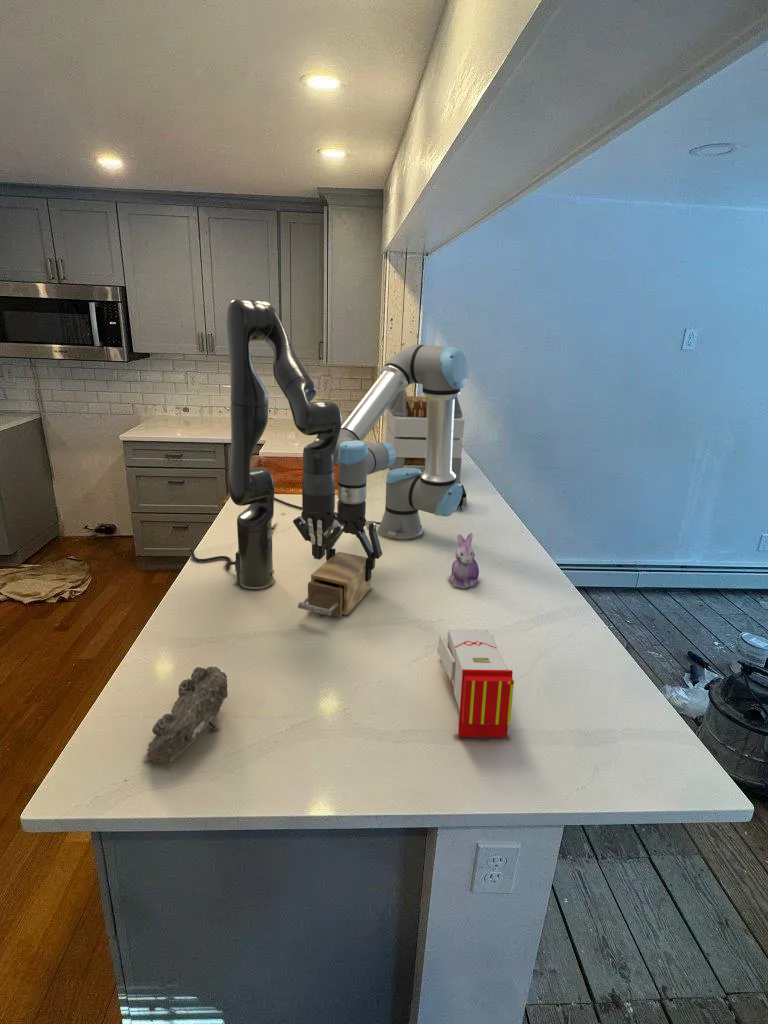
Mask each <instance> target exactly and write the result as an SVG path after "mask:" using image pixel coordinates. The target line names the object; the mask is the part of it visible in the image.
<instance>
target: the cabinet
mask: <svg viewBox="0 0 768 1024" xmlns="http://www.w3.org/2000/svg"><path fill="white" fill-rule="evenodd" d="M367 558H368V556H363V555H357V554H354V553H353V554H352V553H348V552H342V551H336V552H335V555H334V556H332V557H331V558H330V559H329V560H328V561H325V562H324V563H323V564H322V565H320V566H319V567H318V568H317V569H316V570H314V572H313V573H311V574H310V581H311V582H315V583H316V580H322V581H326V582H331V583H335V584H340V585H344V607H343V608H342V615H343V616H348V615H349V614H350V613H351V611H352V610H353V609H354V608H356V606H357V605H358V604H359V603H360V601H362V600H363V598H365V596H366V595H367V594H368V593H369V592H370V590H371V589H372V578H371V579H370V580H369V581H368V582H367V581H365V573H366V559H367ZM342 615H341V616H342Z"/></svg>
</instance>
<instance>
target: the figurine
mask: <svg viewBox="0 0 768 1024" xmlns="http://www.w3.org/2000/svg"><path fill="white" fill-rule="evenodd" d="M473 538H474V537H473V533H472V532H470V533H468V534H467V537H466V538H465V539H464V537H463V536H462V534H461V533H458V534H457V549H456V551H455V558H456V560H454V561H453V562H452V565H451V574H450V582H451V583H452V585H453V586H454V587H455V588H460V589H467V588H471V587H474V586H475V585H476V584H477V583H478V579H479V577H480V569H479V564H478V562H477V560H476V558H475V557H476V553H475V551H474V548H473V546H472V542H473Z"/></svg>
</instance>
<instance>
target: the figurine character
mask: <svg viewBox="0 0 768 1024" xmlns="http://www.w3.org/2000/svg"><path fill="white" fill-rule="evenodd" d="M460 485H461V486H462V497H461V501H460V503H459V505H458V507H457V509H460V511H463V507H464V508H465V507H467V503H468V498H467V492H466V489H465V487H464V484H460Z"/></svg>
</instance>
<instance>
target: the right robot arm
mask: <svg viewBox="0 0 768 1024" xmlns="http://www.w3.org/2000/svg"><path fill="white" fill-rule="evenodd" d="M379 375H380V376H379V377H378V379H377V380H376V381H375V382H374V384H373V385H372V386H371V387H370V388H369V389H368V391H367V392H366V394H365V395H364V396H363V397H362V399H361V400H360V401H359V403H358V404H357V405H356V406H355V408H354V409H353V410H352V411H351V412H350V414H349V415H348V416H347V418H346V419H345V420H344V422H342V426H341V431H340V434H339V438H338V442H337V445H336V449H335V452H334V464H335V463H336V464H337V476H338V477H337V503H336V504H337V509H336V511H337V512H335V511H334V513H335V515H336V520H337V521H338V522H339V523H340V524H344V526H345V527H344V529H343V530H342V531H341V532H340V533H339V534H338V535H337V536H336V537H335V539H334V540H333V541H332V542H330V543H329V544H328V545H326V544H325V562H327V561H328V560H329V559H330V558H331V557H332V556H334V555H335V554H336V548H334V547H335V545H336V543H337V542H338V541H339V539H340V538H341V536H342V535H343V534H349V535H355V537H356V538H357V539H358V540H359V542H360V544H361V546H362V549H363V550H364V552H365V555H366V557H368V558H367V559H366V573H365V581H367V582H368V581H369V580H370V579H371V580H372V573H373V570H374V569H375V568H376V560H378V559H380V558H381V557H382V555H383V550H382V546H381V543H380V540H379V539H380V538H379V536H378V533H379V534H380V535H381V536H382V537H385V538H387V539H389V540H395V541H410V540H415V539H418V538H420V537H421V536H422V535H423V525H422V524H421V518H420V515H419V511H421V512H425V513H428V514H431V515H435V516H440V517H450V516H452V515H453V514H454V513H455V512H456V511H457V509H458V508H457V507H458V505H459V503H460V501H461V497H462V486H461V485H462V484H460V483H456V475H455V473H454V472H453V471H452V452H453V430H454V408H455V397H456V396H457V397H458V396H459V395H460V394H461V389H463V388H464V387H465V386H466V385H467V383H468V379H469V376H470V365H469V360H468V358H467V356H466V353H465V352H464V351H463V350H462V349H459V348H457V347H450V346H443V345H427V344H426V345H424V344H413V345H410V346H408V347H405V348H403V349H401V350H400V351H398V352H397V353H395V354H394V355H393V356H392V357H391V358H390V359H389V360H388V361H387V362H385V364H384V365H383V366H382V368H381V369H380V371H379ZM412 384H419V385H422V386H421V387H422V388H421V389H422V391H421V393H422V394H423V395H424V397H427V422H426V461H425V466H424V467H425V468H424V470H423V471H422V470H421V469H420V468H418V467H404V468H398V469H394V470H391V471H390V470H388V472H387V475H386V480H385V504H384V505H385V507H384V508H385V509H384V513H383V515H382V519H381V522H378V521H375V520H374V521H372V520H367V519H366V514H367V513H366V510H367V509H366V507H367V505H366V504H367V501H365V500H367V481H368V480H367V477H368V476H369V475H371V474H374V473H377V472H381V471H384V470H386V469H388V468H390V466H392V465H393V464H394V462H395V458H396V453H395V450H394V448H393V446H392V445H391V444H389V443H388V442H386V441H377V442H369V441H364V440H365V439H366V437H367V435H368V434H369V433H370V432H371V430H372V429H373V427H374V426H375V425H376V424H377V422H378V421H379V420H380V419H381V418H382V416H383V414H385V411H387V408H388V406H389V405H390V404H391V402H392V401H393V400H394V398H395V397H396V396H397V394H398V393H399V392H400V391H403V390H406V389H407V388H408V387H409V385H412ZM274 501H277V502H279V503H281V504H284V505H286V506H290V507H293V508H296V509H300V510H303V507H302V506H300V505H296V504H292V503H289V502H287V501H284V500H281V499H279V498H276V497H275V496H274ZM377 525H379V527H378V532H377ZM332 527H333V524H332V525H331V527H330V528H329V529H328V533H327V537H328V536H329V535H330V534H331V533H332V532H333V530H332ZM364 527H366V530H367V531H368V536H369V537H368V536H367V534H366V533H367V532H366V530H365V528H364Z"/></svg>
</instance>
